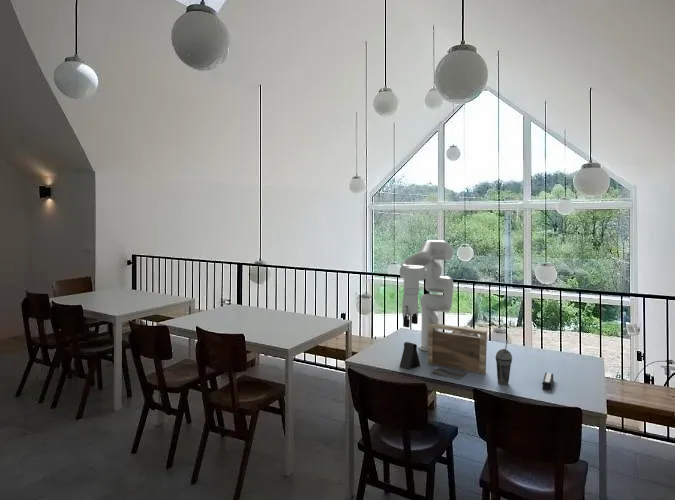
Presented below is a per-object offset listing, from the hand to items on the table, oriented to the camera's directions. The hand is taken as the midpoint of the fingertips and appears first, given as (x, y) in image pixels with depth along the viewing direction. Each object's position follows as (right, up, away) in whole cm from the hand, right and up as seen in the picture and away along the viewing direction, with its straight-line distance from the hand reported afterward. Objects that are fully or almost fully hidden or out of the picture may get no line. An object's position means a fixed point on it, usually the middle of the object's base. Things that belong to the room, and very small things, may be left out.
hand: (410, 325), depth 229 cm
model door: (+19, -22, -6) cm, 29 cm away
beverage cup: (+39, -23, -21) cm, 50 cm away
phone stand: (0, -21, +2) cm, 21 cm away
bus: (+60, -24, -22) cm, 68 cm away
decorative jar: (+29, -21, +10) cm, 37 cm away
